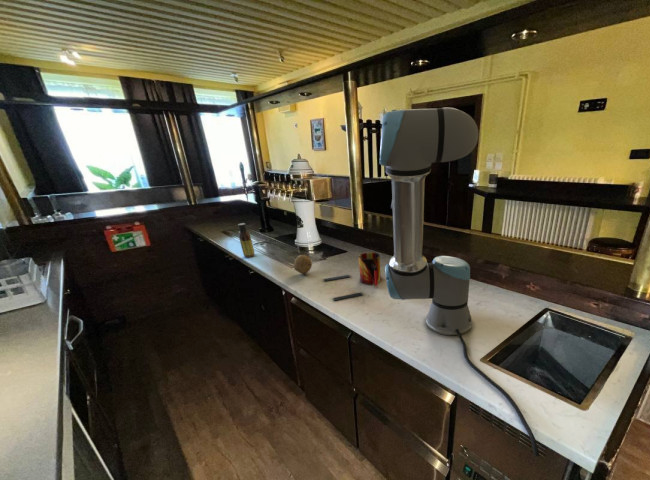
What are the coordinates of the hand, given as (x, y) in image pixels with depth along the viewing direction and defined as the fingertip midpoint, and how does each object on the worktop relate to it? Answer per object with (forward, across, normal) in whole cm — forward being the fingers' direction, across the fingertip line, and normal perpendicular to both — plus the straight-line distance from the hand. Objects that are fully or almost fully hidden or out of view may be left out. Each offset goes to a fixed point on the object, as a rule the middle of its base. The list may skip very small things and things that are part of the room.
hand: (404, 228), depth 131 cm
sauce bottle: (+24, +80, +63) cm, 104 cm away
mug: (+24, +5, +14) cm, 28 cm away
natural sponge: (+24, +32, +40) cm, 57 cm away
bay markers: (+24, +7, +29) cm, 38 cm away
